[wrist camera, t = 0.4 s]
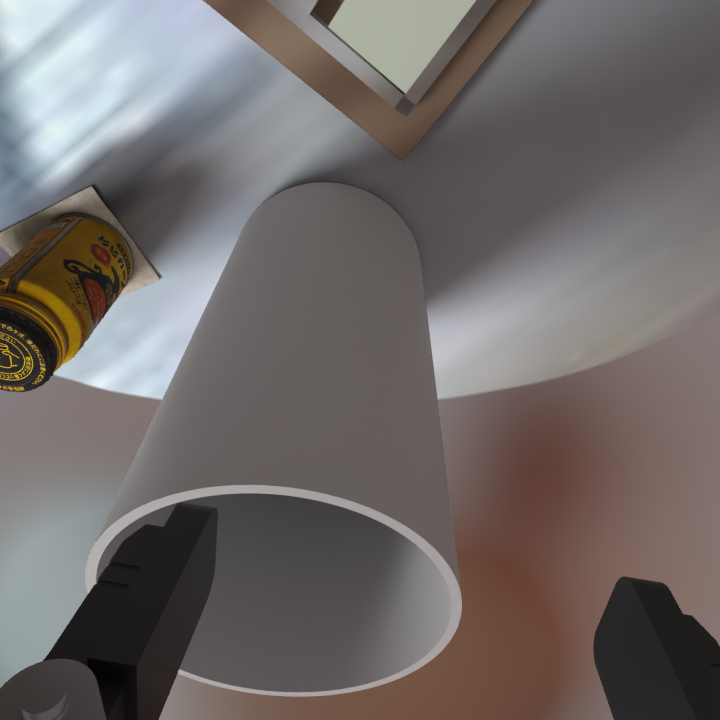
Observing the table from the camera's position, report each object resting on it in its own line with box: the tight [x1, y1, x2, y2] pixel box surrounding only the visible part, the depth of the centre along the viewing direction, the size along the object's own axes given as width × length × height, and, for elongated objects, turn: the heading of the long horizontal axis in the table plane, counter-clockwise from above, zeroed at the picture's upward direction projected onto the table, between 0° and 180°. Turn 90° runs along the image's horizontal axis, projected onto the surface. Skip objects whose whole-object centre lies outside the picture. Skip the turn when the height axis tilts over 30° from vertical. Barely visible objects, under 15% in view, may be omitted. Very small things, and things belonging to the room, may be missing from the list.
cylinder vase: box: [85, 182, 462, 696], centre depth 30 cm, size 12×12×25 cm
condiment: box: [0, 186, 160, 392], centre depth 35 cm, size 7×8×12 cm
